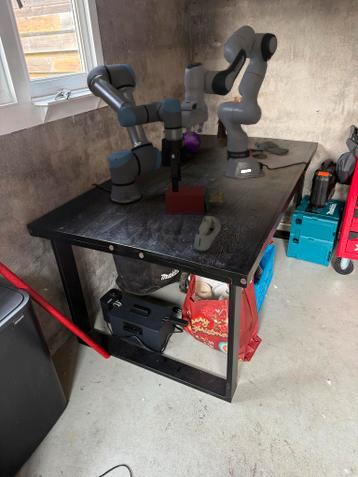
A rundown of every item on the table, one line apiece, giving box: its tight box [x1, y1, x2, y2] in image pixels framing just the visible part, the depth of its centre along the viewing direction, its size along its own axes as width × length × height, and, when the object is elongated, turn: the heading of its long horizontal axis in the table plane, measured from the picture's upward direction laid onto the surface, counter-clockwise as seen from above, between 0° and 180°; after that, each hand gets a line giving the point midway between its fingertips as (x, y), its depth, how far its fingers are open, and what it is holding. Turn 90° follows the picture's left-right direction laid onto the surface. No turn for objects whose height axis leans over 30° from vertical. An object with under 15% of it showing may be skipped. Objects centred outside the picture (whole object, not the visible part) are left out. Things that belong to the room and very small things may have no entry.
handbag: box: [160, 132, 188, 167], centre depth 211 cm, size 21×9×25 cm, turn 148°
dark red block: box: [164, 185, 206, 215], centre depth 152 cm, size 17×11×9 cm, turn 85°
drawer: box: [205, 187, 223, 212], centre depth 151 cm, size 22×10×7 cm, turn 85°
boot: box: [216, 118, 228, 148], centre depth 246 cm, size 9×24×20 cm, turn 168°
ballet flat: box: [193, 215, 222, 253], centre depth 127 cm, size 8×24×8 cm, turn 163°
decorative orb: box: [183, 130, 202, 154], centre depth 230 cm, size 15×15×15 cm
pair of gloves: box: [247, 140, 290, 159], centre depth 223 cm, size 30×26×5 cm
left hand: (177, 186), depth 148 cm, fingers open, 13 cm apart
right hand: (195, 134), depth 157 cm, fingers open, 8 cm apart
